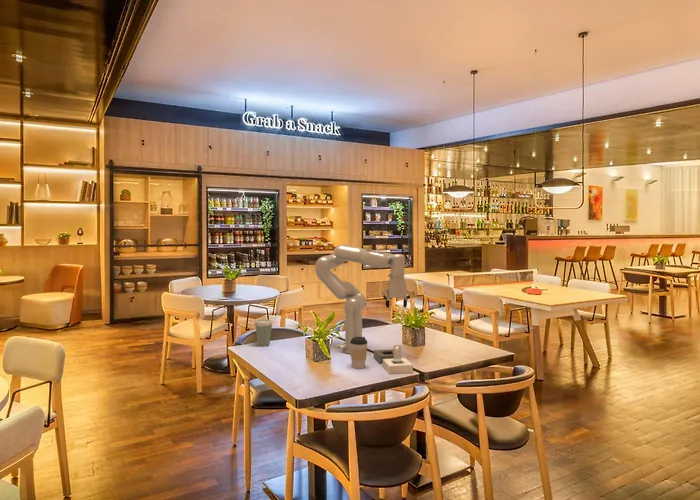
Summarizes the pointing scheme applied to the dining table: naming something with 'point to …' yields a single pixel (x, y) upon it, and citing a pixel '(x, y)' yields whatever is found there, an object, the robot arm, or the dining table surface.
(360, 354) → the coffee cup
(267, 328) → the disposable coffee cup
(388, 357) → the block
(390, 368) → the socket block
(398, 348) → the pin
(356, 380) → the dining table surface
